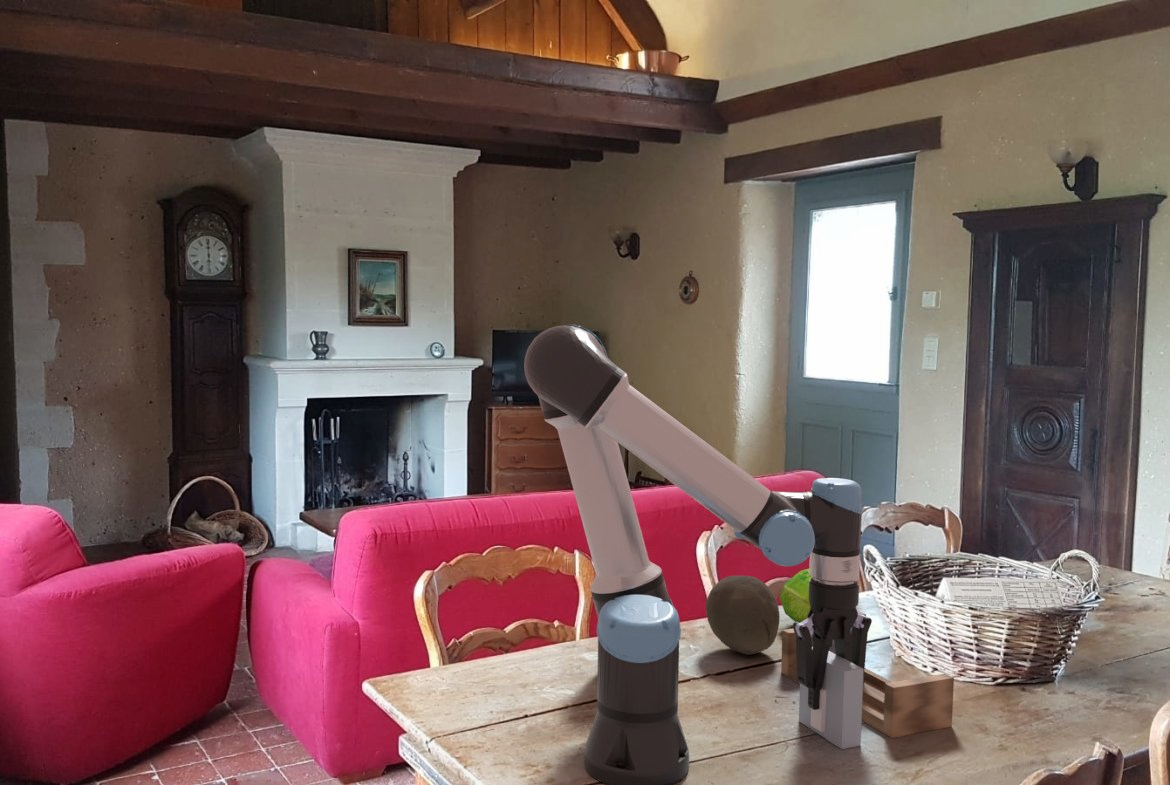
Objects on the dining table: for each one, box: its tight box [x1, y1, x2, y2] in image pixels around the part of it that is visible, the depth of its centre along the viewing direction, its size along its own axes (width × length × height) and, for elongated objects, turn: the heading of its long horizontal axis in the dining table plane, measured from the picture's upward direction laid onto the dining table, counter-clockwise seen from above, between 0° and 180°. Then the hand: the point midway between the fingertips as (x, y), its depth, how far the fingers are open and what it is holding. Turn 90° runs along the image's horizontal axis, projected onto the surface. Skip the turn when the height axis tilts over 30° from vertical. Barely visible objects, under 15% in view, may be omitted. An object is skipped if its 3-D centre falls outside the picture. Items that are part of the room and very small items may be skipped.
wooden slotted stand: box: [780, 610, 955, 739], centre depth 166 cm, size 12×30×14 cm, turn 23°
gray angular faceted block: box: [798, 647, 863, 750], centre depth 152 cm, size 4×11×12 cm, turn 23°
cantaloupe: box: [705, 575, 780, 656], centre depth 188 cm, size 14×14×15 cm
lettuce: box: [779, 568, 812, 623], centre depth 201 cm, size 14×20×12 cm
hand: (829, 725), depth 152 cm, fingers closed on gray angular faceted block, 3 cm apart
